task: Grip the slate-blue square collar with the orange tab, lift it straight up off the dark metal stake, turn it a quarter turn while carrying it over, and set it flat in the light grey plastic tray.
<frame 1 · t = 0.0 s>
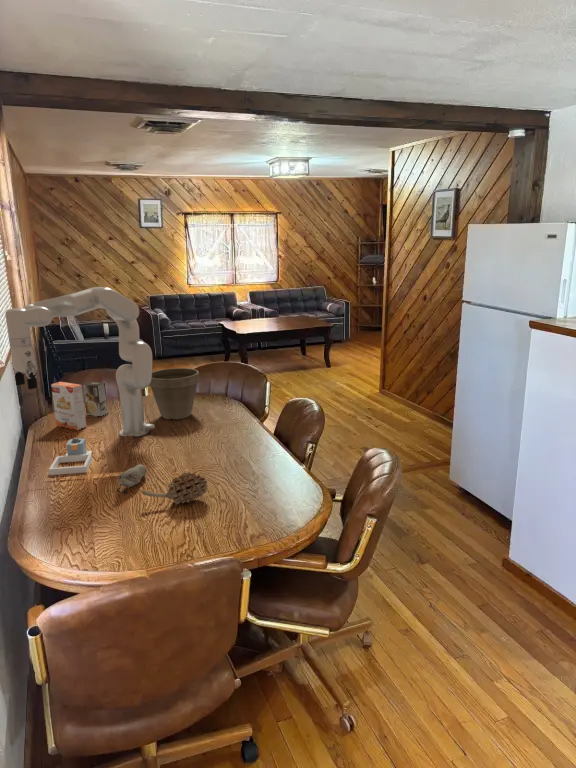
hand: (26, 386, 213), 31 cm above the table, tool pointing down, fingers open, 9 cm apart
stake: (77, 458, 225), on the table
cracker box: (71, 427, 264), on the table
decorative bird: (133, 486, 199), on the table
tray: (72, 469, 214), on the table
collar: (77, 455, 225), point 1 cm above the table, touching stake
plant pot: (176, 415, 279), on the table
coffee box: (97, 415, 282), on the table
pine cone: (175, 503, 186), on the table
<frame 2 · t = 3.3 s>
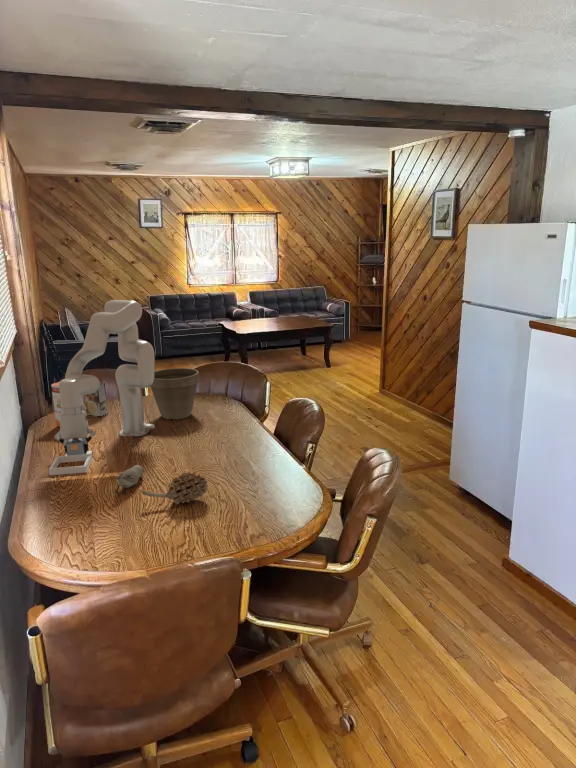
hand: (77, 452, 225), 2 cm above the table, tool pointing down, fingers closed on collar, 6 cm apart
collar: (77, 455, 225), point 1 cm above the table, touching gripper, stake
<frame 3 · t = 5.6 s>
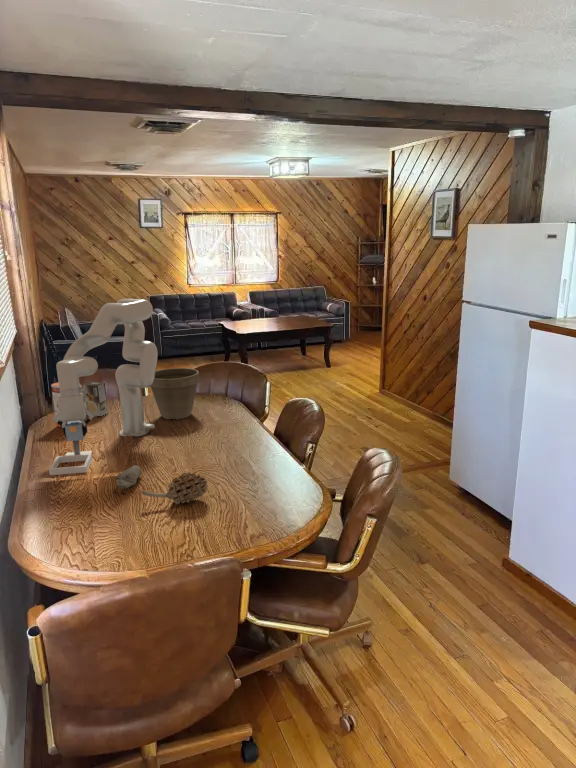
hand: (75, 435, 223), 10 cm above the table, tool pointing down, fingers closed on collar, 6 cm apart
collar: (76, 437, 224), point 9 cm above the table, touching gripper
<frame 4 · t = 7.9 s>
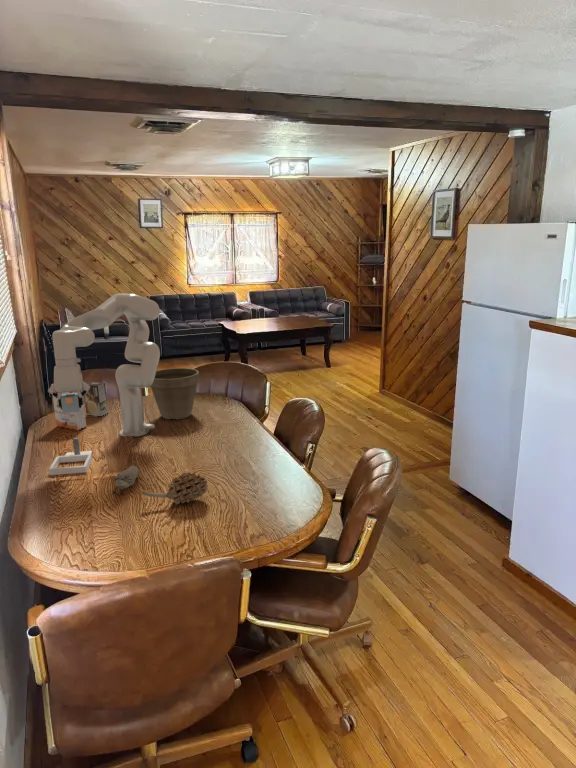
hand: (71, 407, 219), 22 cm above the table, tool pointing down, fingers closed on collar, 6 cm apart
collar: (71, 410, 220), point 20 cm above the table, touching gripper
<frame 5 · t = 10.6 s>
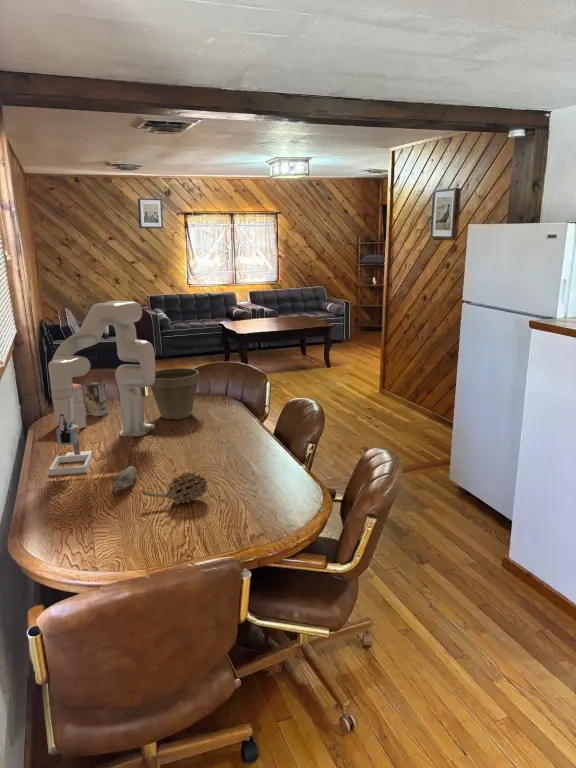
hand: (67, 439, 211), 12 cm above the table, tool pointing down, fingers closed on collar, 6 cm apart
collar: (68, 442, 211), point 11 cm above the table, touching gripper
when the fingers open (3 cm above the table, at t = 12.7 s): collar drops 1 cm, resting on tray.
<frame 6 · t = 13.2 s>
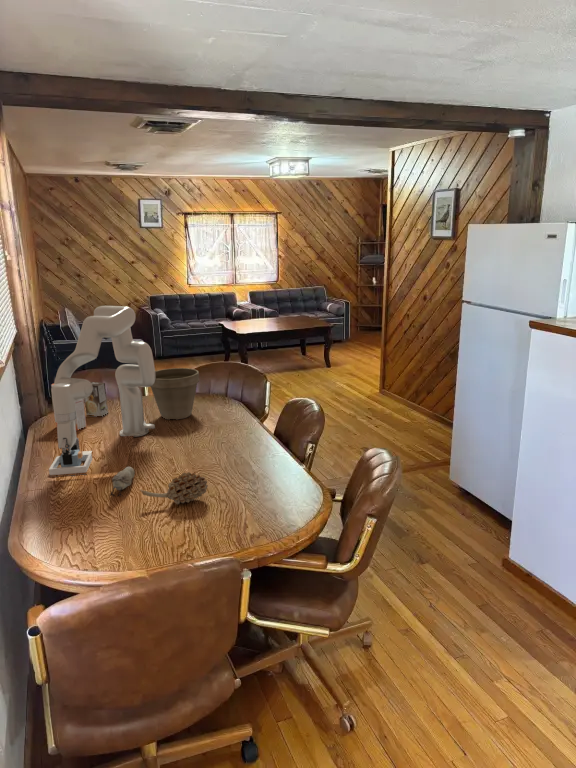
hand: (70, 459, 213), 4 cm above the table, tool pointing down, fingers open, 9 cm apart
collar: (71, 467, 214), point 1 cm above the table, touching tray
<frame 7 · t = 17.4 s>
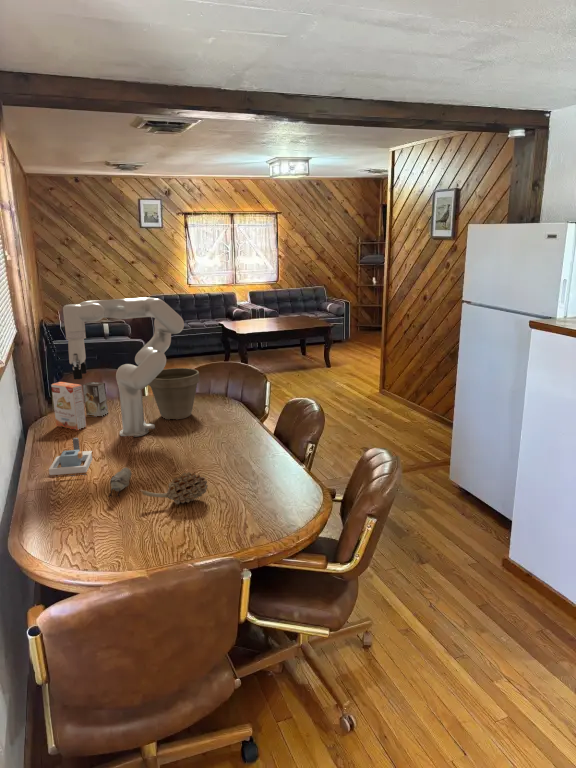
hand: (80, 376, 232), 30 cm above the table, tool pointing down, fingers open, 9 cm apart
at the end: collar 0.1 cm off-centre on the tray, point 0.8 cm above the tray's base; collar tilted 0°; the gripper is holding nothing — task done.
